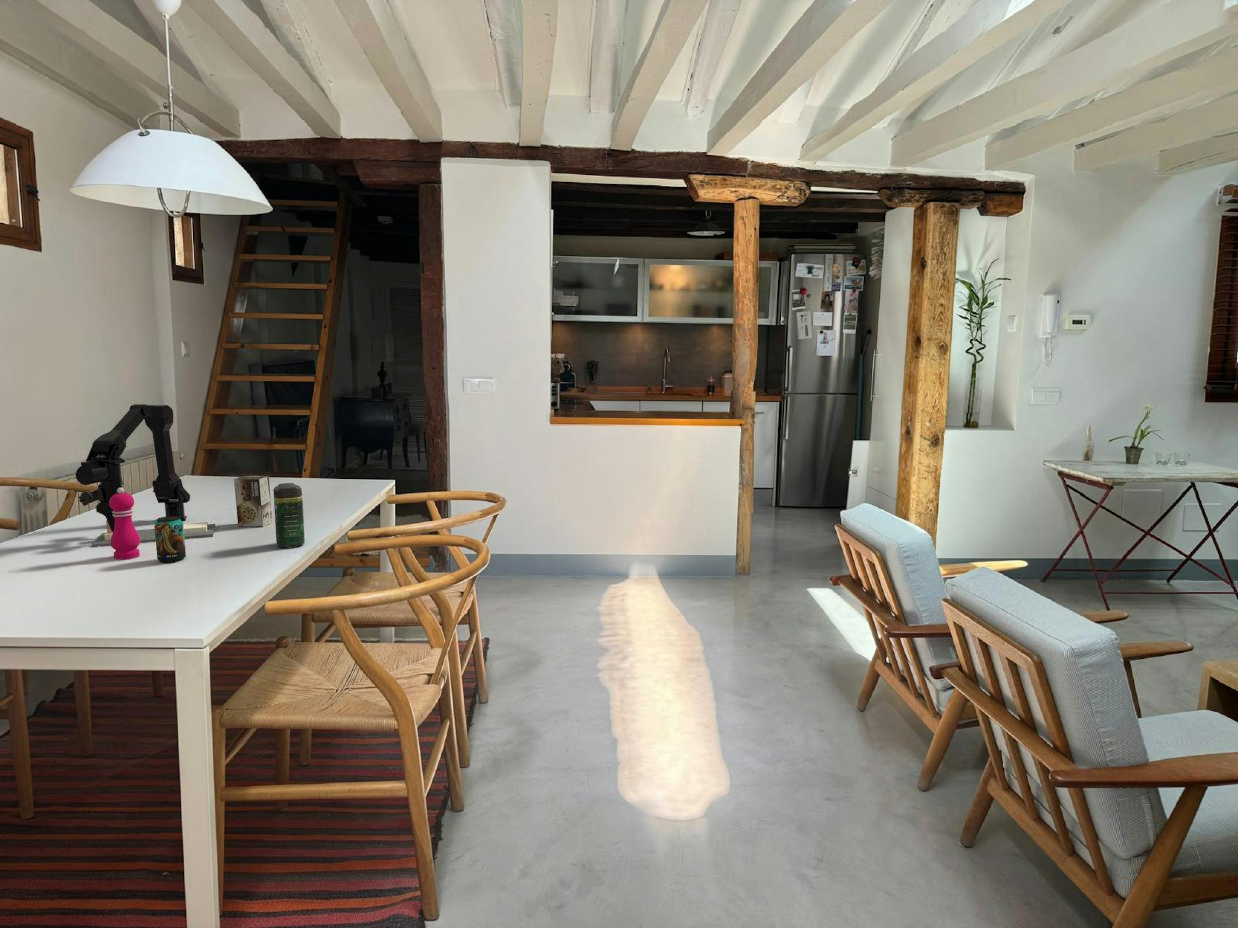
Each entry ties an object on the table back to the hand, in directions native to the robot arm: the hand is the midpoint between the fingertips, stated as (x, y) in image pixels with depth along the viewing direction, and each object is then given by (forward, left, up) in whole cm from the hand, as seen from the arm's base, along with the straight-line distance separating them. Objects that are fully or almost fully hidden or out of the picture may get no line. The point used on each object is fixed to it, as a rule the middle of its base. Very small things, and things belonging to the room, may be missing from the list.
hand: (115, 529), depth 248 cm
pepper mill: (+25, +6, -3) cm, 26 cm away
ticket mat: (0, +11, -3) cm, 11 cm away
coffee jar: (+29, +49, -3) cm, 57 cm away
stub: (0, 0, -3) cm, 3 cm away
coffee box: (-5, +39, -3) cm, 39 cm away
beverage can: (+34, +18, -3) cm, 39 cm away
